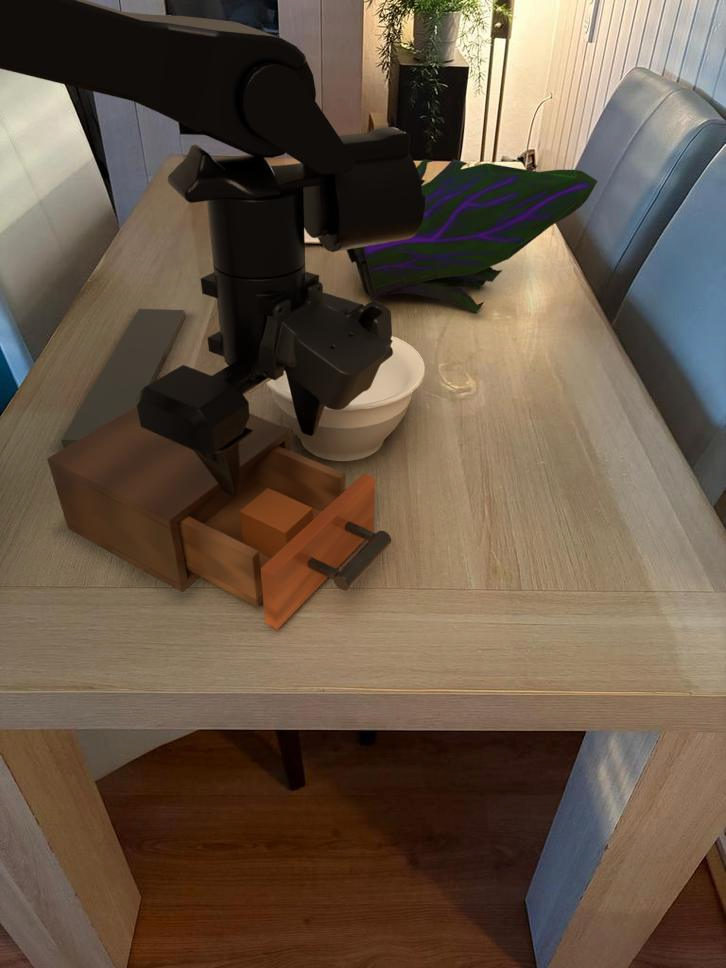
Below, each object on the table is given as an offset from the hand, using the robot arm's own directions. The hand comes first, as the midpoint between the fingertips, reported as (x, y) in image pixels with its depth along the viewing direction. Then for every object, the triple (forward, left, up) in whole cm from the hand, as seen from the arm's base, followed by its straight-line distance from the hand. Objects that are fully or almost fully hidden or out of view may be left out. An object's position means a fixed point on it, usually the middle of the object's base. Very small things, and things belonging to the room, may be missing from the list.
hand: (272, 462), depth 56 cm
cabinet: (-10, +3, -10) cm, 15 cm away
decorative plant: (+1, +57, -10) cm, 58 cm away
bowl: (-1, +19, -10) cm, 22 cm away
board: (-28, +23, -10) cm, 38 cm away
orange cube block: (0, 0, -8) cm, 8 cm away
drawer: (+1, 0, -9) cm, 9 cm away
